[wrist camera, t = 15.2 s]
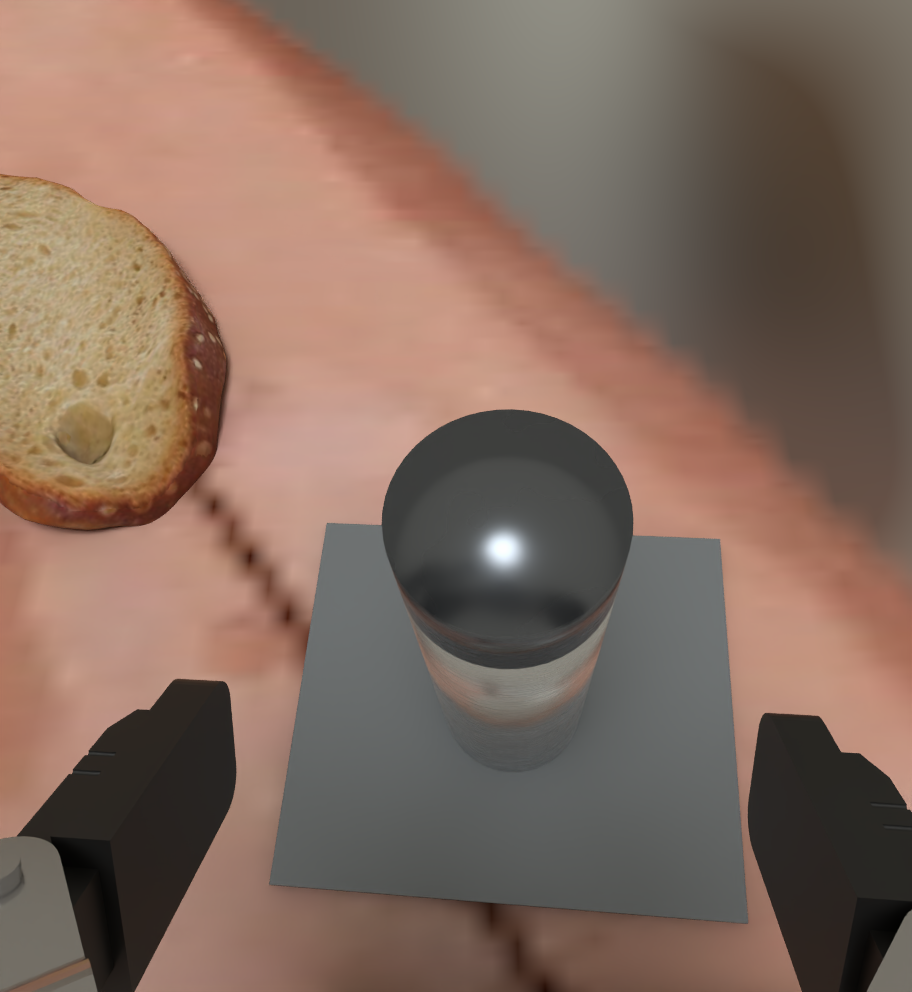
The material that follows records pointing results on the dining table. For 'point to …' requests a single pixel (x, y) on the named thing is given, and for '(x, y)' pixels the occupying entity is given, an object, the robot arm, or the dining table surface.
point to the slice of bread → (98, 364)
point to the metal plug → (509, 575)
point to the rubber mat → (530, 794)
